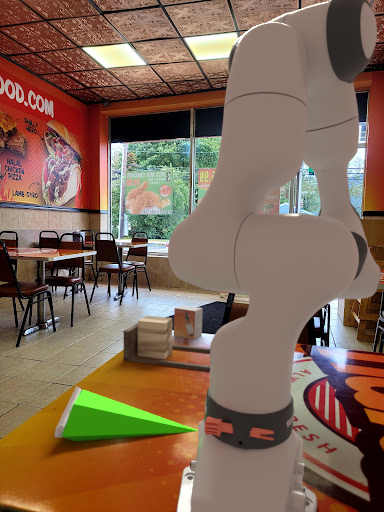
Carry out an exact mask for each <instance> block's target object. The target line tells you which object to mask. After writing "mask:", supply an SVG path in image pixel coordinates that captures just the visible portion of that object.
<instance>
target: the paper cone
mask: <svg viewBox="0 0 384 512" xmlns="http://www.w3.org/2000/svg"><path fill="white" fill-rule="evenodd" d="M54 431H55V432H54V438H61V439H62V438H65V439H68V440H71V441H73V442H83V441H98V440H109V439H121V438H132V437H133V438H134V437H145V436H146V437H147V436H148V437H149V436H158V435H159V436H161V435H170V434H173V435H174V434H182V433H192V432H194V433H195V432H198V429H195V428H193V427H190V426H188V425H184V424H182V423H180V422H179V423H178V422H176V421H173V420H171V419H167V418H164V417H162V416H159V415H155V414H153V413H150V412H148V411H145V410H142V409H139V408H136V407H134V406H130V405H128V404H126V403H122V402H120V401H118V400H114V399H111V398H108V397H106V396H102V395H99V394H97V393H94V392H91V391H88V390H86V389H82V388H80V387H79V386H75V388H74V390H73V392H72V394H71V397H70V399H69V401H68V403H67V405H66V407H65V409H64V411H63V412H62V415H61V417H60V420H58V424H57V425H56V428H55V430H54Z"/></svg>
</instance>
